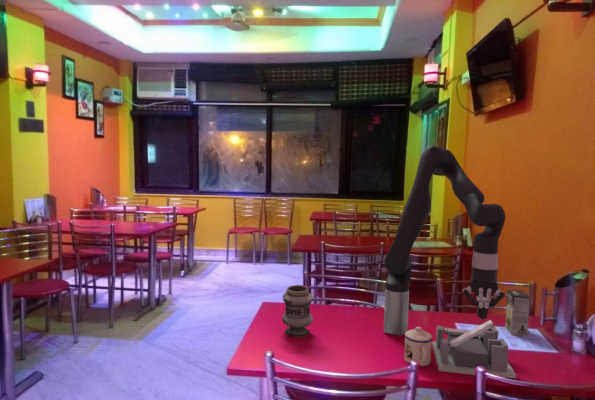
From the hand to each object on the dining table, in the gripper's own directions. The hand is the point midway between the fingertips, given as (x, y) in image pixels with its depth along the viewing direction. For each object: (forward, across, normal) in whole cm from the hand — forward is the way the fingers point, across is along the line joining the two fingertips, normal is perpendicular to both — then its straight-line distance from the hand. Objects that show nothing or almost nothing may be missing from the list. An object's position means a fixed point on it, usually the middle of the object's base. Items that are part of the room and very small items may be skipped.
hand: (482, 318), depth 136 cm
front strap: (+7, -2, 0) cm, 7 cm away
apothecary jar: (+17, -64, +16) cm, 68 cm away
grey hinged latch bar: (+11, -2, +12) cm, 17 cm away
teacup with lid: (+17, -19, 0) cm, 26 cm away
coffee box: (+18, +22, +38) cm, 48 cm away
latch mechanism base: (+17, -2, +6) cm, 18 cm away
